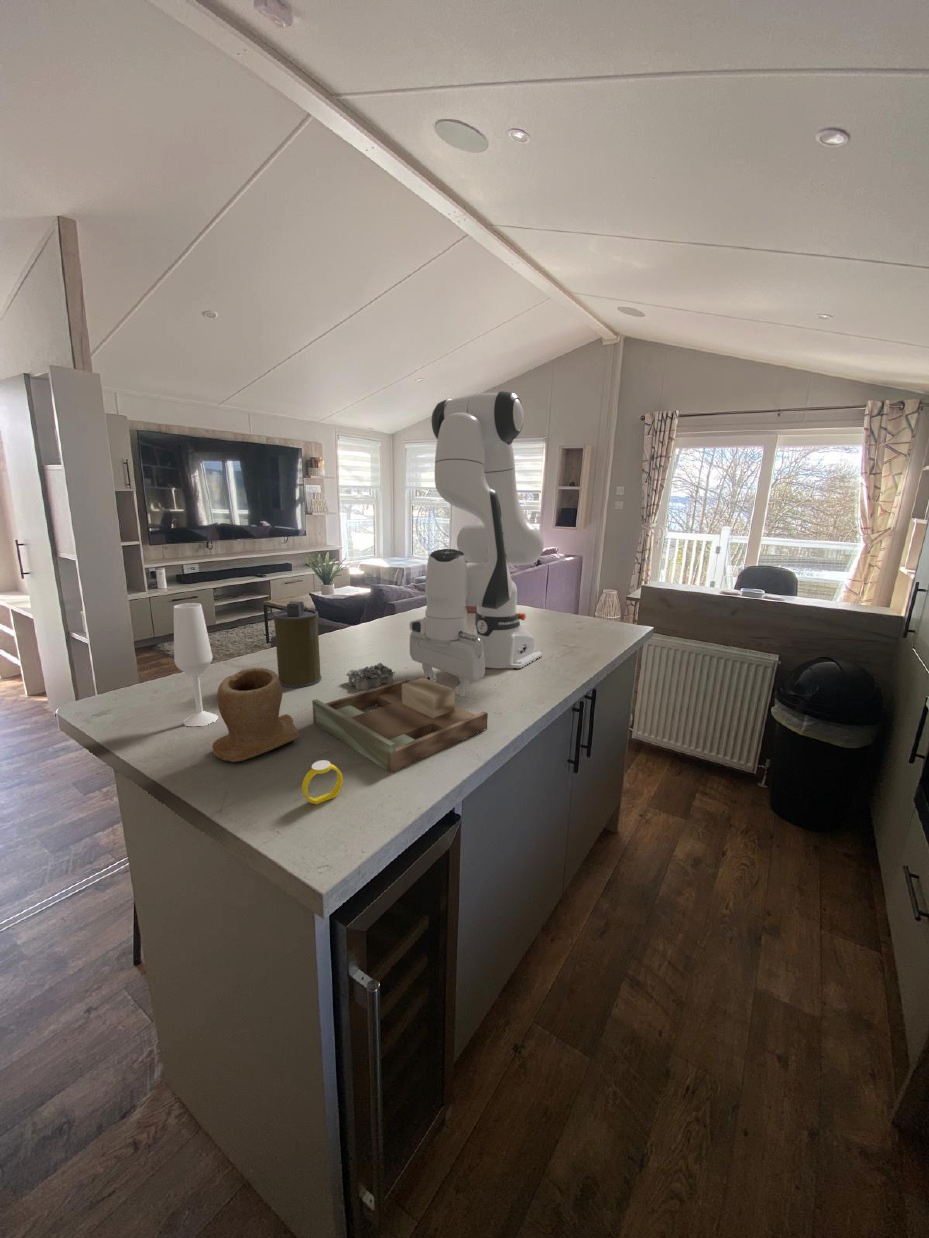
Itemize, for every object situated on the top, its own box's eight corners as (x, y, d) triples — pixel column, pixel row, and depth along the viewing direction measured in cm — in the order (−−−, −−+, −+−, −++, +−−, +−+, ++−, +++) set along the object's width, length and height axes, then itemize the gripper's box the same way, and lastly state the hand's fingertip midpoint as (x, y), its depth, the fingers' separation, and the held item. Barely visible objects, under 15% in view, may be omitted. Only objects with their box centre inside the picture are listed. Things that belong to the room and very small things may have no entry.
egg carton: (358, 693, 119) (358, 676, 118) (344, 684, 124) (343, 668, 123) (397, 683, 125) (396, 667, 124) (382, 674, 131) (381, 660, 130)
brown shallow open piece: (406, 693, 118) (406, 673, 117) (487, 729, 100) (487, 705, 99) (313, 723, 101) (312, 700, 100) (391, 772, 84) (390, 745, 82)
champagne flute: (223, 721, 102) (211, 606, 96) (186, 730, 97) (171, 610, 92) (213, 710, 107) (201, 600, 101) (178, 719, 102) (164, 604, 97)
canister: (314, 688, 120) (309, 607, 115) (271, 687, 120) (264, 606, 116) (327, 673, 131) (323, 598, 126) (287, 672, 131) (282, 597, 126)
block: (423, 696, 111) (423, 677, 110) (454, 709, 104) (454, 689, 103) (402, 703, 107) (401, 684, 106) (432, 718, 100) (433, 697, 99)
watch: (309, 812, 73) (304, 776, 72) (302, 803, 75) (296, 768, 74) (346, 795, 77) (342, 761, 75) (338, 787, 79) (334, 754, 77)
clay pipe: (233, 776, 82) (225, 691, 78) (205, 751, 90) (196, 672, 86) (316, 745, 93) (311, 668, 89) (284, 725, 100) (279, 654, 97)
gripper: (492, 634, 100) (490, 698, 103) (426, 617, 114) (426, 674, 117) (471, 640, 96) (469, 707, 99) (404, 621, 110) (405, 680, 113)
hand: (445, 689), depth 108 cm, fingers open, 8 cm apart
